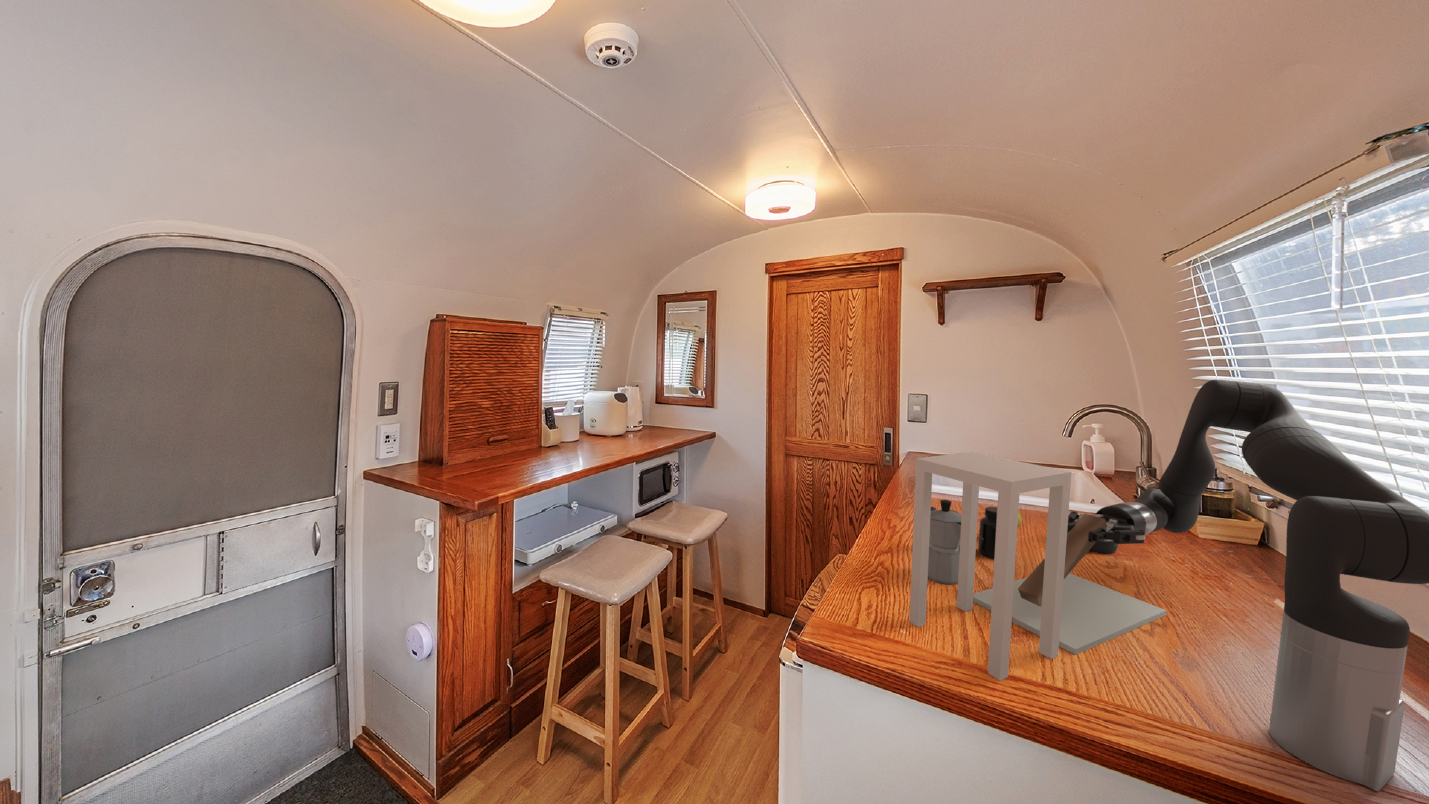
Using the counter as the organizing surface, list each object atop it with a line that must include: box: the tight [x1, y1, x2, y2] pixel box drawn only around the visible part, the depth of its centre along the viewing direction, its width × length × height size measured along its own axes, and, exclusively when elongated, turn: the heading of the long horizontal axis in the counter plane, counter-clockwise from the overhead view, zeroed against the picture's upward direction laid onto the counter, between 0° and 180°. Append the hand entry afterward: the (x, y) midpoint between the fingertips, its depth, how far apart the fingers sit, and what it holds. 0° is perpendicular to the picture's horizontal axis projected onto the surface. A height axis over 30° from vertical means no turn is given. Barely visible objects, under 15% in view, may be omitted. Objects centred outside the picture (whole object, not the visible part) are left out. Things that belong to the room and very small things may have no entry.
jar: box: [1080, 513, 1120, 555], centre depth 124 cm, size 10×10×8 cm
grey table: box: [909, 451, 1073, 682], centre depth 83 cm, size 18×15×32 cm
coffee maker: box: [928, 499, 962, 586], centre depth 108 cm, size 15×9×18 cm, turn 22°
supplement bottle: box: [977, 506, 997, 560], centre depth 119 cm, size 7×7×12 cm
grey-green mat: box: [973, 572, 1167, 656], centre depth 95 cm, size 20×30×1 cm, turn 114°
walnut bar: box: [1018, 513, 1107, 607], centre depth 93 cm, size 4×24×3 cm
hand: (1079, 533), depth 95 cm, fingers closed on walnut bar, 3 cm apart
